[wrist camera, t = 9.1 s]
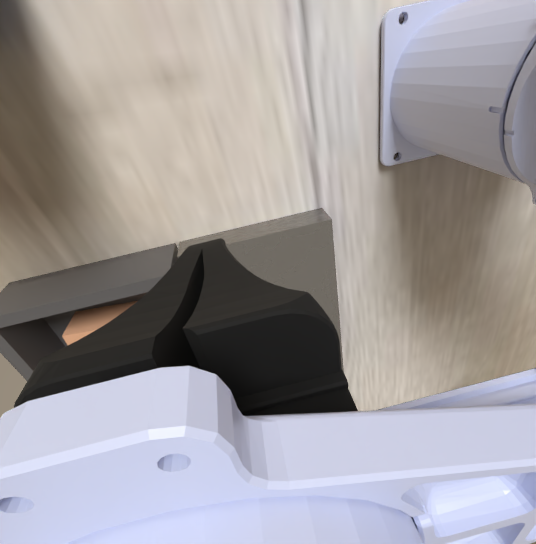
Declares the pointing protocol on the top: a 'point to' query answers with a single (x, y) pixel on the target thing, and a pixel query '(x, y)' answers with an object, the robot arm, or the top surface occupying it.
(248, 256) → the grey flat board
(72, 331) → the tile
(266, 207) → the top surface
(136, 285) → the box
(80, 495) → the robot arm
